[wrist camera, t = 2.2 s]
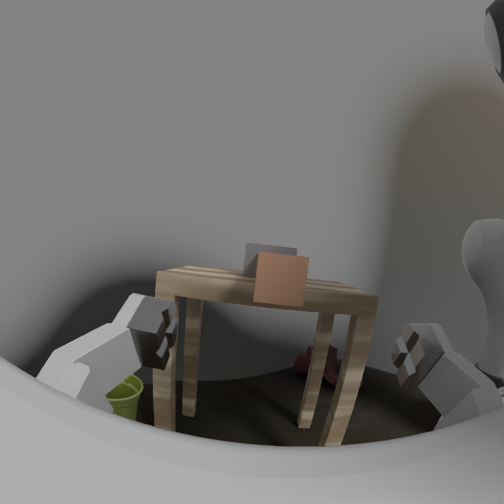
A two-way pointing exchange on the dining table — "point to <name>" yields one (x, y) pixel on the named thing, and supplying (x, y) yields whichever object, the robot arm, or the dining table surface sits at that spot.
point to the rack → (242, 292)
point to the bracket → (329, 371)
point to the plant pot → (126, 397)
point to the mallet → (276, 274)
